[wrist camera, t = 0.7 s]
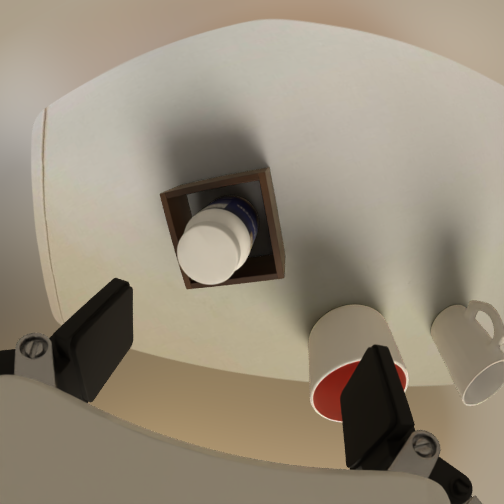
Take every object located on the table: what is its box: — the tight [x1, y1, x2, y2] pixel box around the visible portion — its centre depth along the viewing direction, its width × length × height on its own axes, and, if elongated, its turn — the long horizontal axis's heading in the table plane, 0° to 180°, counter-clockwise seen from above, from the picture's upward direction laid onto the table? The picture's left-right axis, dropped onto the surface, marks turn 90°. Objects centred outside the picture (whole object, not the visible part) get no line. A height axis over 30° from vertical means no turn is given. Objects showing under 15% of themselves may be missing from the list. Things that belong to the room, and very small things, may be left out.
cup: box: [308, 305, 409, 422], centre depth 29 cm, size 10×10×10 cm
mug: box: [431, 300, 504, 406], centre depth 25 cm, size 10×7×12 cm, turn 178°
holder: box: [160, 167, 286, 289], centre depth 28 cm, size 10×10×5 cm
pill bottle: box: [177, 195, 259, 285], centre depth 26 cm, size 6×6×10 cm
